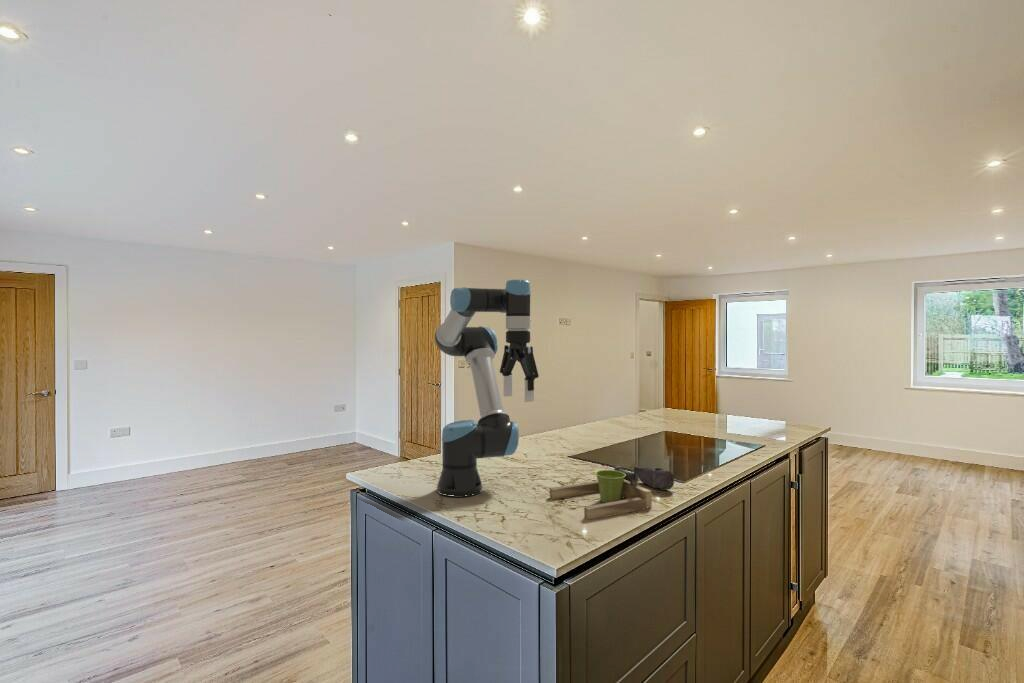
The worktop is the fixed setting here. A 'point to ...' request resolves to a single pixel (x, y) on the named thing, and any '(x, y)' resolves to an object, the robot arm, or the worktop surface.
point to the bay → (630, 491)
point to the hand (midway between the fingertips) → (518, 398)
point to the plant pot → (610, 485)
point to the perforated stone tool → (656, 478)
